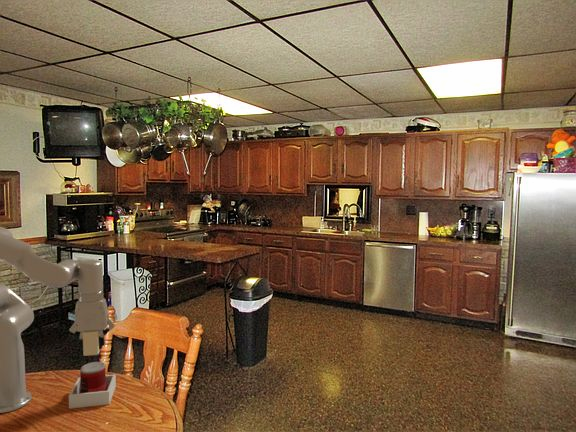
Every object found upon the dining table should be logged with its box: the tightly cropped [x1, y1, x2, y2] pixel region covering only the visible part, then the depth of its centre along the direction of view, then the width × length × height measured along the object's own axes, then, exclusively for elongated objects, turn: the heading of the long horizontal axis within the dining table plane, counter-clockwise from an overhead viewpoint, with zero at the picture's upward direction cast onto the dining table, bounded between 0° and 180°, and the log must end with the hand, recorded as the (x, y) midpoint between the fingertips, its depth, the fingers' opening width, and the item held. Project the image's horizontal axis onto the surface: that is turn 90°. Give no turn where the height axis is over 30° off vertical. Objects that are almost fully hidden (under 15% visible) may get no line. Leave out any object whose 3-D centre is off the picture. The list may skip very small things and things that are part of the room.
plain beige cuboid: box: [82, 330, 101, 357], centre depth 139 cm, size 4×7×8 cm, turn 14°
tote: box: [68, 374, 117, 409], centre depth 140 cm, size 12×12×4 cm
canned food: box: [79, 361, 107, 393], centre depth 140 cm, size 8×8×11 cm
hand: (93, 347), depth 139 cm, fingers closed on plain beige cuboid, 4 cm apart
